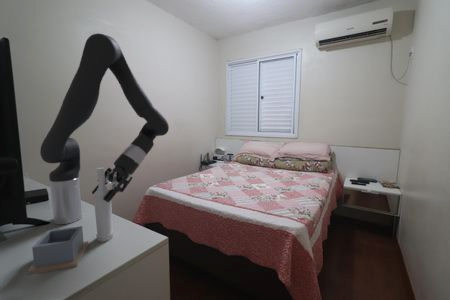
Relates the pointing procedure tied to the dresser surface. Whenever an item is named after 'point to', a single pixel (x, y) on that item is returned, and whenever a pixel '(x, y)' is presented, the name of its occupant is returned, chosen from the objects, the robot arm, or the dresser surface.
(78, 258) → the sleeve
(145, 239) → the dresser surface
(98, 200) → the bottle
